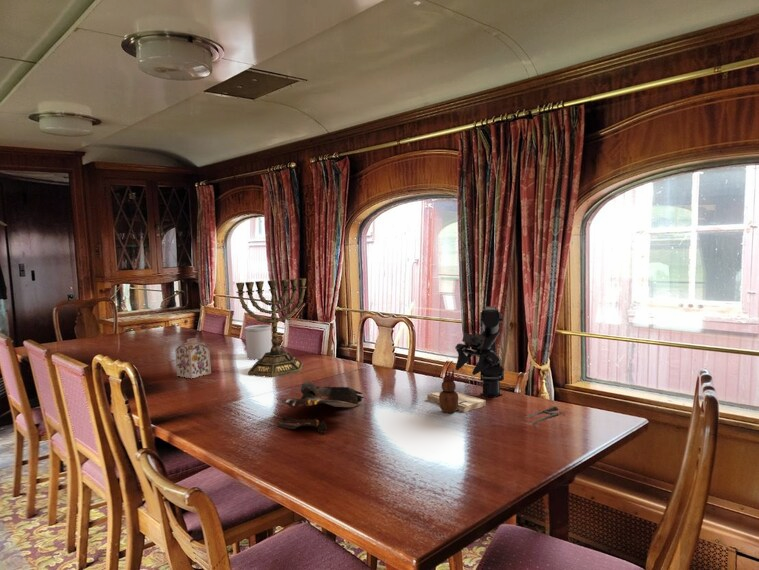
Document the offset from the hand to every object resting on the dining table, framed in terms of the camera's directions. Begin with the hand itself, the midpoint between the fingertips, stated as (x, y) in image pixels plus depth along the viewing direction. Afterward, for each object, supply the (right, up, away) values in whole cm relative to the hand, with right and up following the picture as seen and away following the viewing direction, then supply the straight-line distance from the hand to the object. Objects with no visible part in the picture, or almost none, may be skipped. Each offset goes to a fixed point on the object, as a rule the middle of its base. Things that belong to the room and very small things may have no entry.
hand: (464, 371), depth 185 cm
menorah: (-83, -11, +69) cm, 108 cm away
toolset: (-48, -16, -2) cm, 51 cm away
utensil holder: (-99, -9, +102) cm, 142 cm away
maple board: (-2, -13, +8) cm, 15 cm away
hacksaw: (+25, -14, -13) cm, 31 cm away
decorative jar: (-122, -13, +64) cm, 138 cm away
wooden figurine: (-6, -14, -3) cm, 15 cm away
